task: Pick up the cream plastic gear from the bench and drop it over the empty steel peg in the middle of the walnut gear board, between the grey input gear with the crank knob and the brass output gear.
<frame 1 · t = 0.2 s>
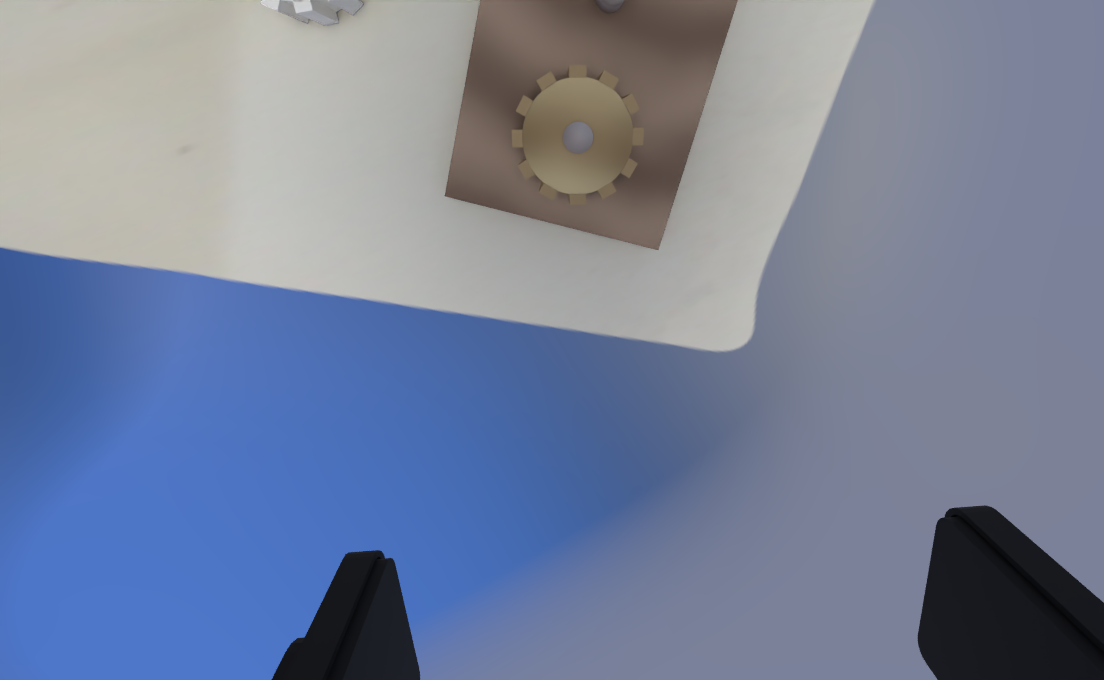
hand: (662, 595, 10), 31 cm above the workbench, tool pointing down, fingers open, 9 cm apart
gear board: (607, 1, 34), on the workbench
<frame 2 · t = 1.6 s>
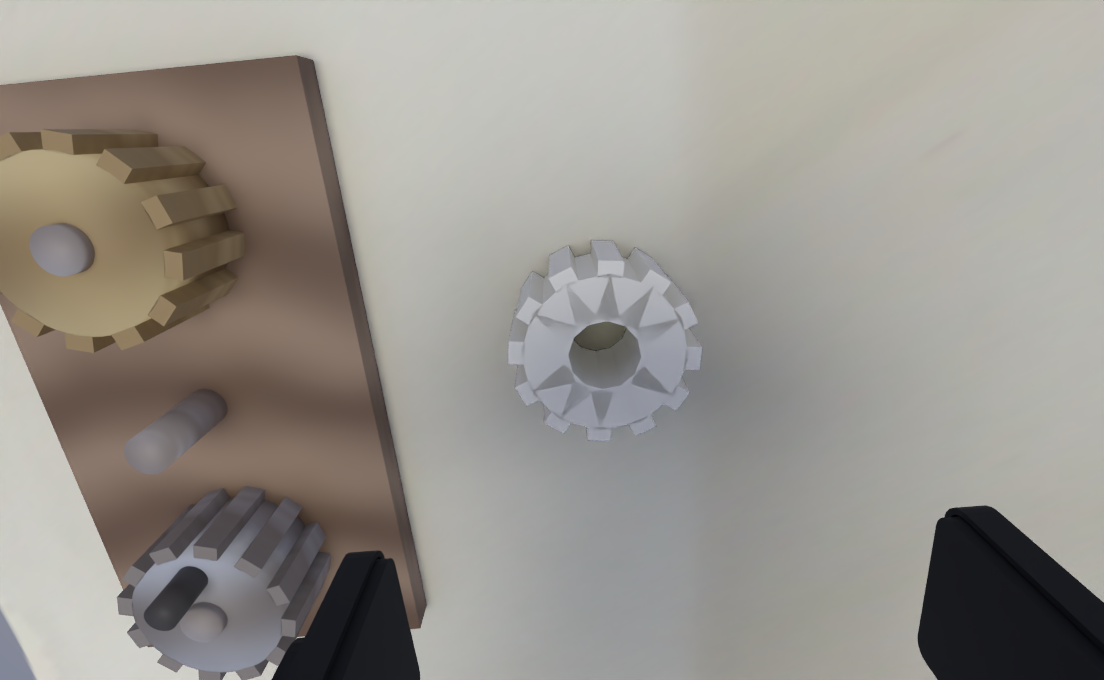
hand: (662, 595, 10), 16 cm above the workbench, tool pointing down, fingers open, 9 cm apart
gear: (596, 322, 25), on the workbench
gear board: (226, 391, 26), on the workbench
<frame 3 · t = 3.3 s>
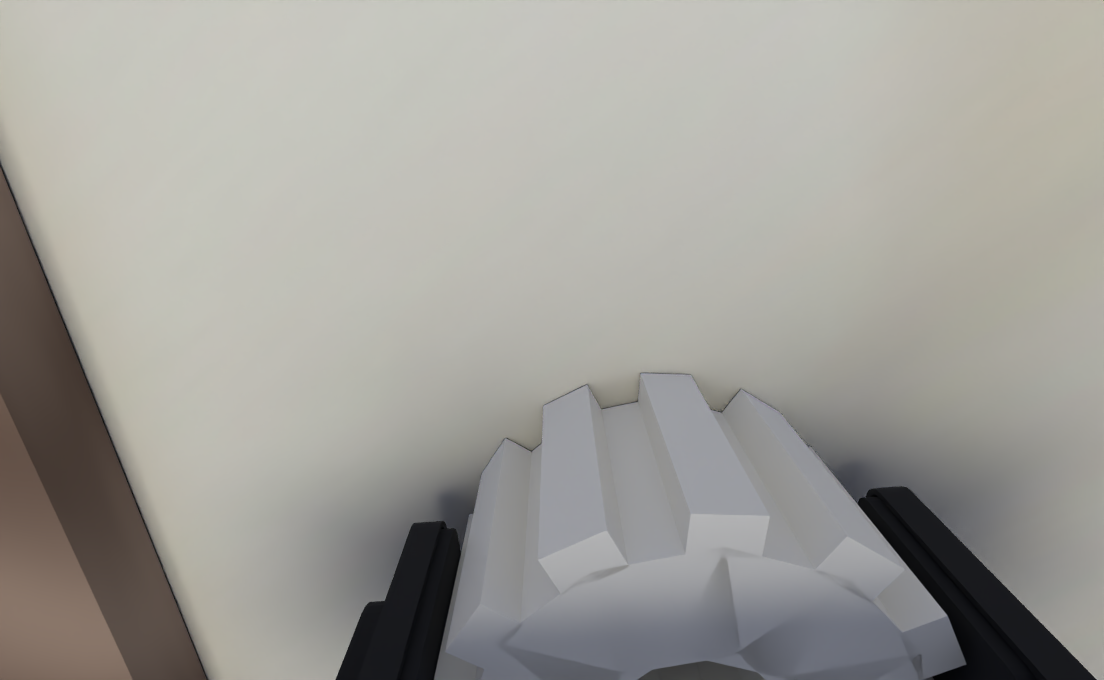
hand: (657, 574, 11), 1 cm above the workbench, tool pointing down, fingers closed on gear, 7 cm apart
gear: (648, 537, 12), on the workbench, touching gripper
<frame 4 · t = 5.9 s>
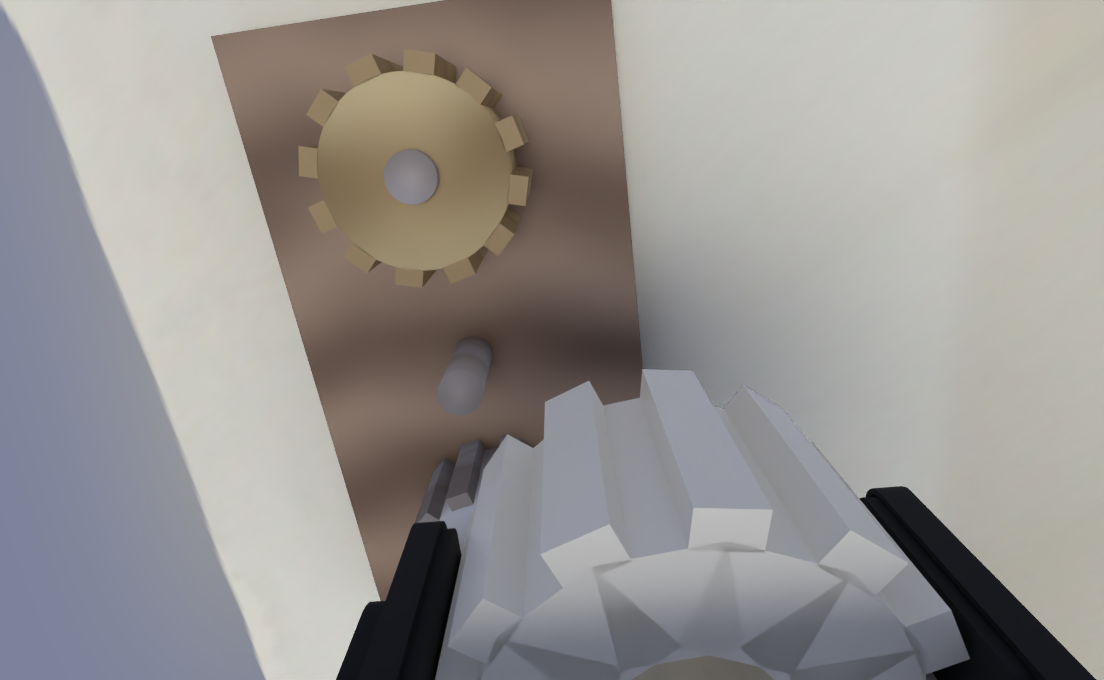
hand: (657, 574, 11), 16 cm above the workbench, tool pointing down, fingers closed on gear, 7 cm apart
gear: (650, 533, 12), point 15 cm above the workbench, touching gripper
gear board: (478, 341, 26), on the workbench
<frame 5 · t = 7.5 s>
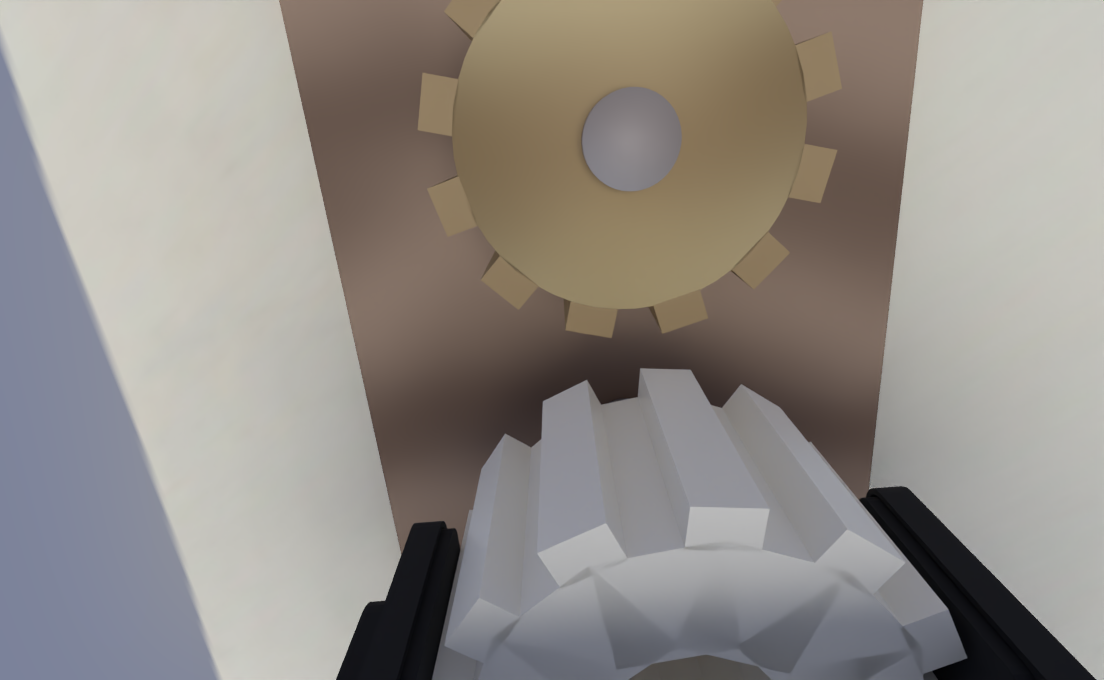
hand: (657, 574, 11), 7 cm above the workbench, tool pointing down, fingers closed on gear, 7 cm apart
gear: (648, 533, 12), point 6 cm above the workbench, touching gripper
gear board: (618, 400, 18), on the workbench
when the fingers open (4 cm above the workbench, at t = 8.7 s): gear drops 1 cm, resting on gear board.
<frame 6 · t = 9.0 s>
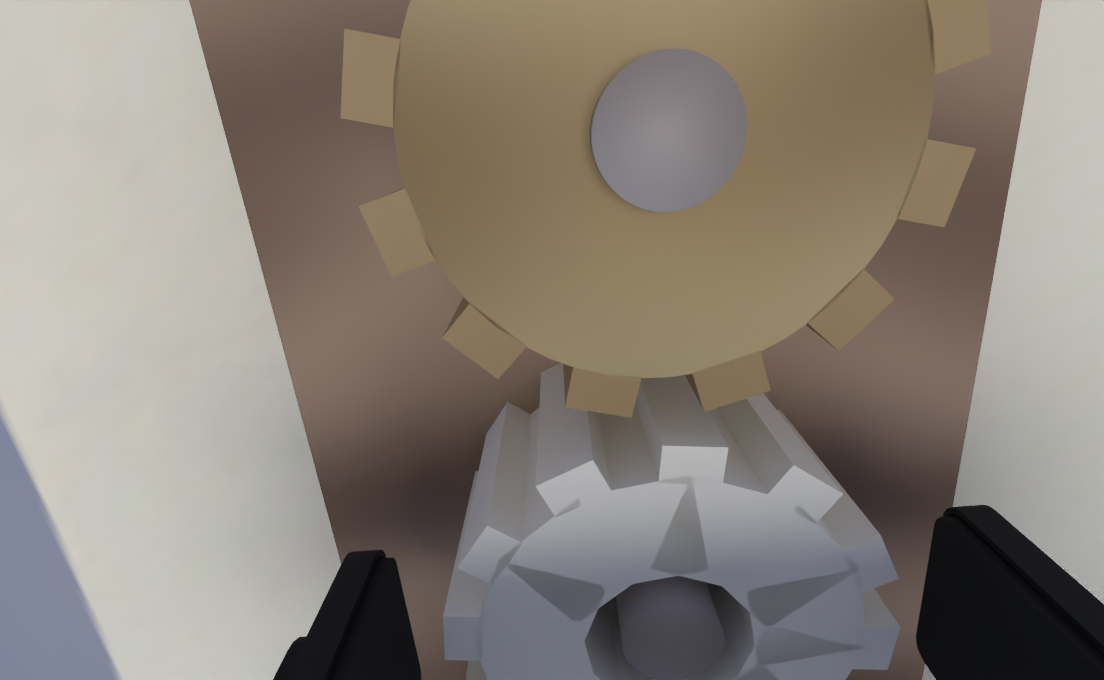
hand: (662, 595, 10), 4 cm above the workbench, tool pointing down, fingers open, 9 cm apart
gear: (635, 492, 13), point 1 cm above the workbench, touching gear board
gear board: (629, 456, 14), on the workbench
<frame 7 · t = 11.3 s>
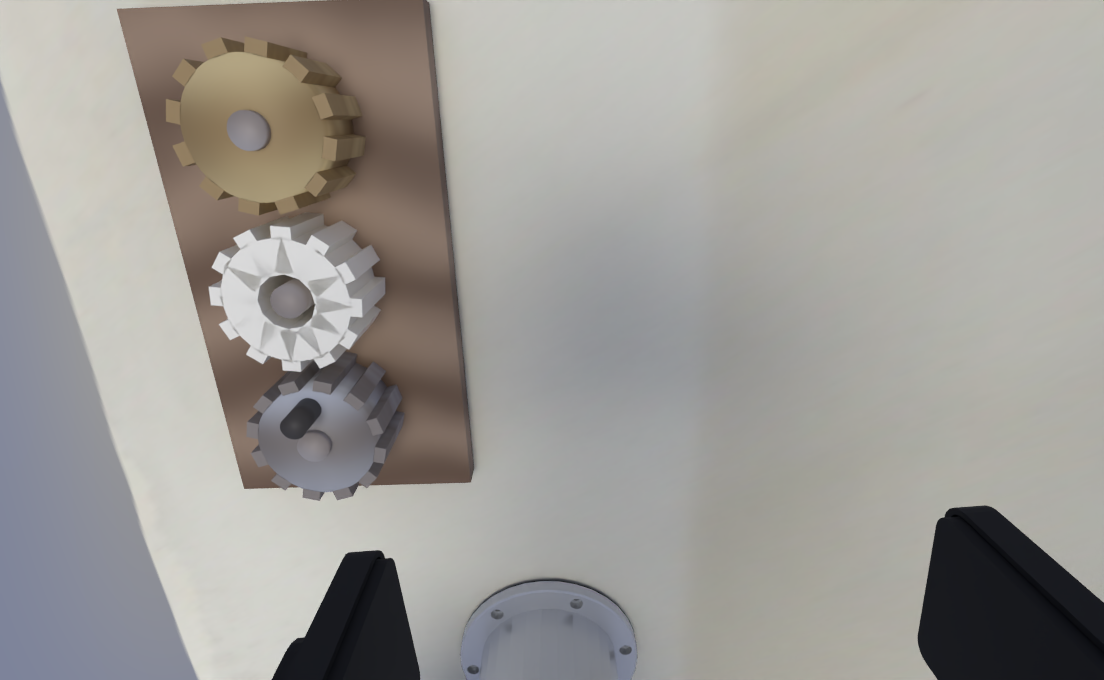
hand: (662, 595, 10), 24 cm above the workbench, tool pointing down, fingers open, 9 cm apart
gear: (318, 280, 31), point 1 cm above the workbench, touching gear board
gear board: (329, 273, 32), on the workbench
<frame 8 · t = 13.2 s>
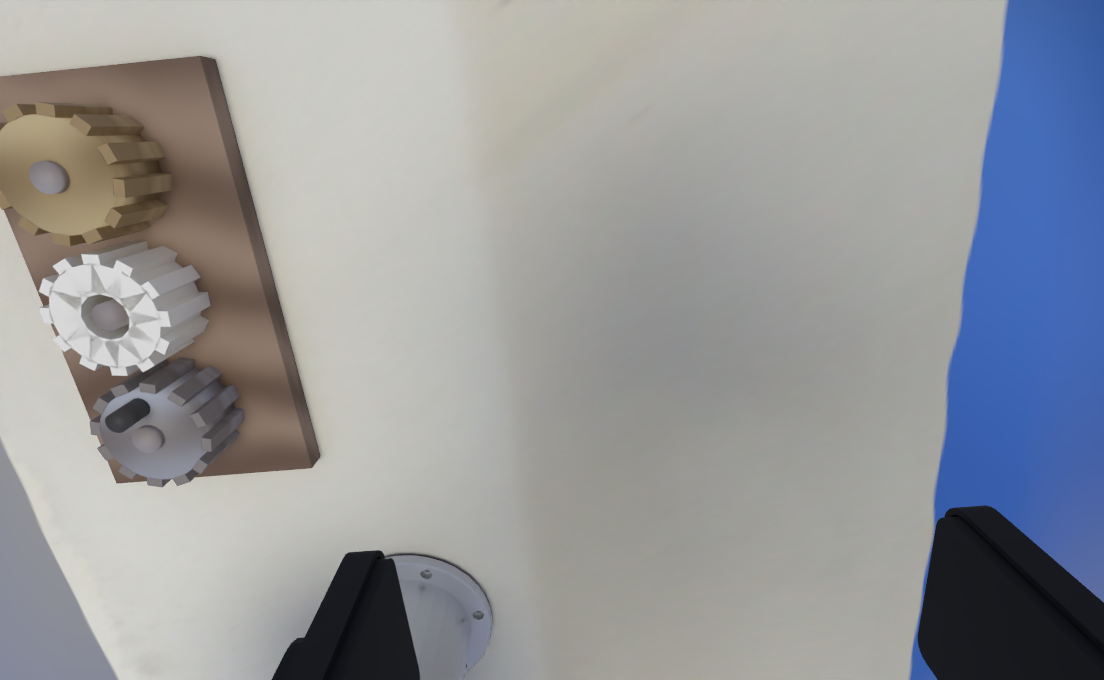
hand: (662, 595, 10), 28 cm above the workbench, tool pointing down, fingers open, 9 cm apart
gear: (151, 297, 36), point 1 cm above the workbench, touching gear board
gear board: (167, 291, 37), on the workbench
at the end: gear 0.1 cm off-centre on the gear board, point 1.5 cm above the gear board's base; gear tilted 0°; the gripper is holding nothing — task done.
